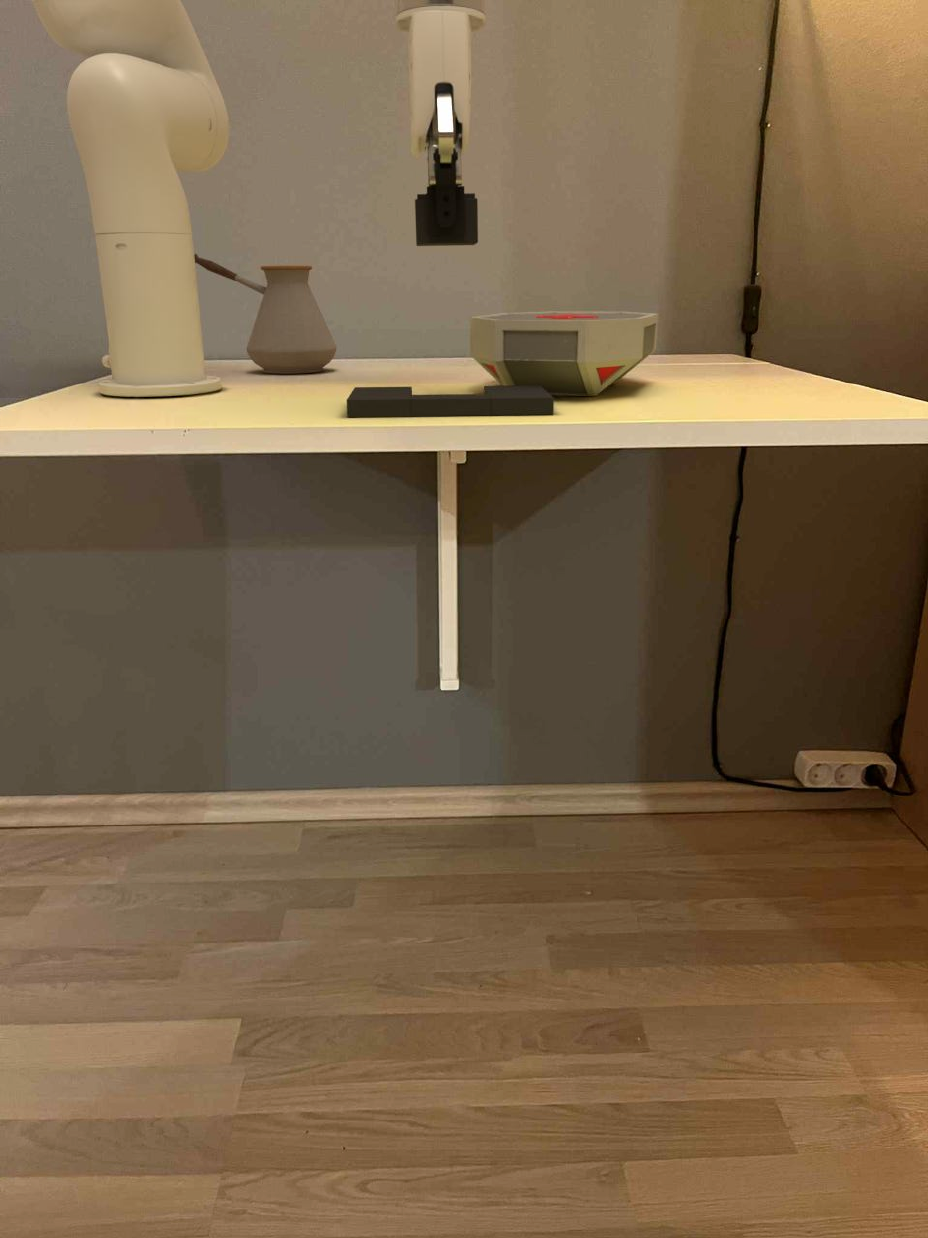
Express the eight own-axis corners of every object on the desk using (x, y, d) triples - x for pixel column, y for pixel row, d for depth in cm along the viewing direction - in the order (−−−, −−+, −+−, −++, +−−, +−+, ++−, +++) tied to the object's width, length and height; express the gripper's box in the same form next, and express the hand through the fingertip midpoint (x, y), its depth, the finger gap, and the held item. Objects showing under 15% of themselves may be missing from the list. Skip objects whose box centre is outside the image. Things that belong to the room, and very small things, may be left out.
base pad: (347, 417, 82) (346, 399, 82) (355, 402, 92) (354, 387, 91) (553, 414, 83) (553, 397, 83) (540, 400, 92) (540, 384, 92)
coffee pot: (351, 368, 127) (345, 247, 122) (315, 376, 117) (307, 245, 112) (209, 365, 133) (198, 250, 128) (163, 373, 122) (149, 248, 117)
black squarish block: (416, 243, 83) (414, 193, 82) (416, 245, 88) (414, 199, 87) (478, 242, 83) (477, 192, 82) (474, 244, 88) (473, 198, 87)
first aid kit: (629, 405, 89) (660, 378, 111) (634, 321, 86) (664, 311, 109) (451, 399, 94) (515, 375, 116) (451, 319, 91) (516, 311, 114)
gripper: (397, 31, 87) (404, 242, 93) (392, -26, 71) (402, 234, 77) (478, 30, 88) (481, 241, 94) (492, -27, 71) (494, 233, 78)
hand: (445, 236), depth 85 cm, fingers closed on black squarish block, 5 cm apart
